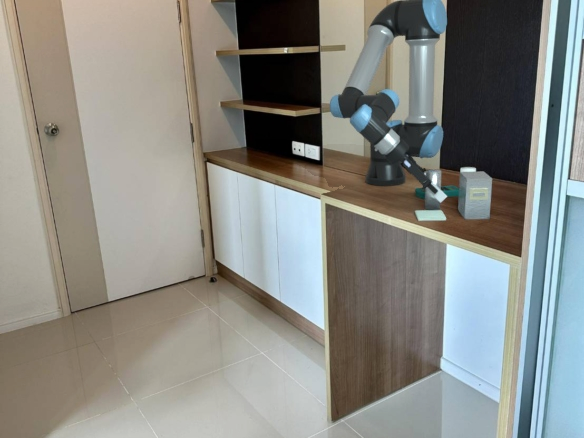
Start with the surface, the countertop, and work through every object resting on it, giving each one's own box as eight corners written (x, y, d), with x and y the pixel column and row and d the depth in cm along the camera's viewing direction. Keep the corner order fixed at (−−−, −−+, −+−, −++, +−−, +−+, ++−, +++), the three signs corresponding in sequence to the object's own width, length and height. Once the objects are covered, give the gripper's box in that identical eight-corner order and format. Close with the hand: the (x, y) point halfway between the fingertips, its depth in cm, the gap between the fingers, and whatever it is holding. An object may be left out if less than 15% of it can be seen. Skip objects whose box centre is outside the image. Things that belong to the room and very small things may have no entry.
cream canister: (457, 203, 174) (459, 167, 170) (472, 203, 173) (474, 166, 170) (460, 207, 169) (462, 170, 166) (475, 207, 169) (477, 169, 165)
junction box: (458, 209, 167) (459, 171, 163) (481, 209, 166) (483, 171, 163) (465, 219, 157) (467, 179, 153) (490, 219, 156) (492, 179, 152)
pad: (414, 213, 165) (414, 210, 165) (441, 212, 165) (441, 210, 164) (418, 220, 158) (418, 217, 158) (446, 220, 157) (446, 217, 157)
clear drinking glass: (423, 206, 172) (425, 169, 169) (438, 206, 171) (440, 169, 168) (425, 210, 168) (427, 172, 164) (441, 210, 167) (442, 172, 164)
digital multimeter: (413, 195, 188) (413, 187, 187) (453, 192, 190) (454, 184, 189) (420, 200, 181) (420, 192, 180) (462, 197, 183) (463, 189, 182)
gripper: (380, 149, 178) (425, 192, 181) (385, 163, 154) (437, 213, 157) (397, 132, 176) (442, 176, 179) (404, 144, 152) (456, 195, 155)
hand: (440, 193), depth 168 cm, fingers open, 13 cm apart
